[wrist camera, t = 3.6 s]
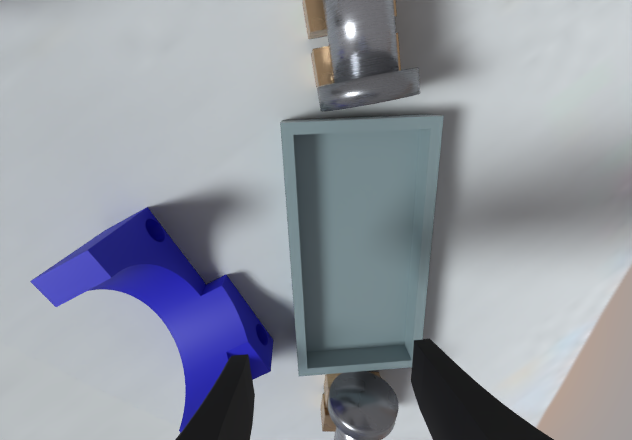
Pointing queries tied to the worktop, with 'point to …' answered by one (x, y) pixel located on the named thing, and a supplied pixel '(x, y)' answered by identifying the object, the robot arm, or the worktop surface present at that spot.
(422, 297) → the grey-blue rectangular tray
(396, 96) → the shaft
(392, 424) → the shaft
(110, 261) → the blue bearing cap
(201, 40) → the worktop surface
